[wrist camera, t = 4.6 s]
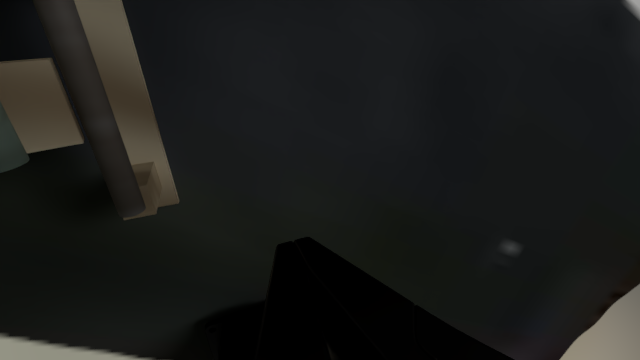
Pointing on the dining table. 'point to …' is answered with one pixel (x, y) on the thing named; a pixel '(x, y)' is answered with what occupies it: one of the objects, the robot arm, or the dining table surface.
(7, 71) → the lever
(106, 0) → the catapult stand
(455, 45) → the dining table surface
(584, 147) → the dining table surface
